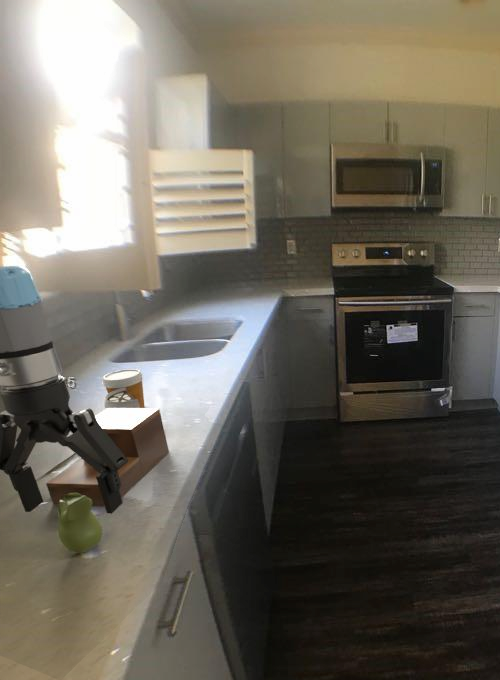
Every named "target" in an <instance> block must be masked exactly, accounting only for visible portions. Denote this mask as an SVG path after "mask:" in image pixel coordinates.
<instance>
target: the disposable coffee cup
mask: <svg viewBox="0 0 500 680" xmlns="http://www.w3.org/2000/svg"><path fill="white" fill-rule="evenodd" d="M143 379H144V374H143V373H142V372H141V370H140V369H136V368H126V369H125V368H124V369H119V370H114V371H112V372H109V373H106V374H105V375H103V376H102V382H101V384H102V385H103V387H104V388H105V390H106V392H107V394H109V393H111V392H112V391H115V390H117V389H120V388H124V387H125V388H126V392H127V393H128V394H130V395H131V396H132V397H133V398H134V399H135V400H136V399H138V402H139V405H140V408H146V407H145V406H146V405H145V396H144V395H145V394H144V386H143Z"/></svg>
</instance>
